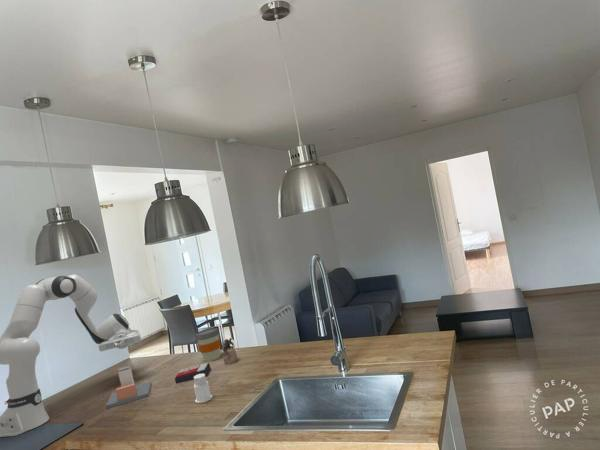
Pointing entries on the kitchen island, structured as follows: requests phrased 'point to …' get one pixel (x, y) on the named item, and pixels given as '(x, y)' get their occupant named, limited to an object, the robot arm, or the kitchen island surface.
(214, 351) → the reusable coffee cup
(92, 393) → the kitchen island surface
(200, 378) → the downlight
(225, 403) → the kitchen island surface
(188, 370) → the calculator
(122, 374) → the beige rectangular block
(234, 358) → the figurine
